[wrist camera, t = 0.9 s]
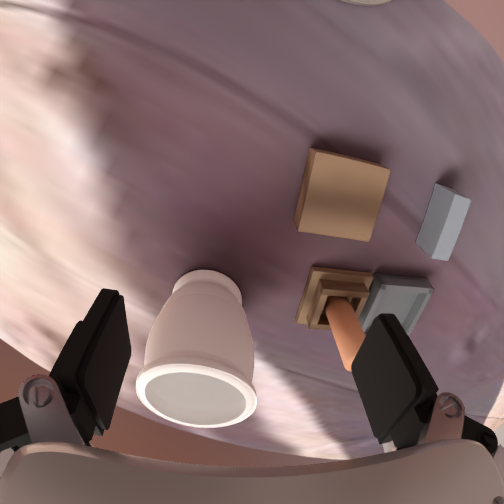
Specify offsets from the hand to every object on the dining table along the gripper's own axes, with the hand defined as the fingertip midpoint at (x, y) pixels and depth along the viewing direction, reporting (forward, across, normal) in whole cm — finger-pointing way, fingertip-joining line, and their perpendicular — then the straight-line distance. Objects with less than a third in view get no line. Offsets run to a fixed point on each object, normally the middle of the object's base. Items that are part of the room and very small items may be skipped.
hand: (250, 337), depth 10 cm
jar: (+22, +2, +14) cm, 26 cm away
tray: (+21, -22, +14) cm, 34 cm away
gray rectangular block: (+21, -24, 0) cm, 32 cm away
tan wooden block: (+22, -10, -1) cm, 24 cm away
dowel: (+20, -13, +12) cm, 27 cm away
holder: (+21, -13, +12) cm, 28 cm away
